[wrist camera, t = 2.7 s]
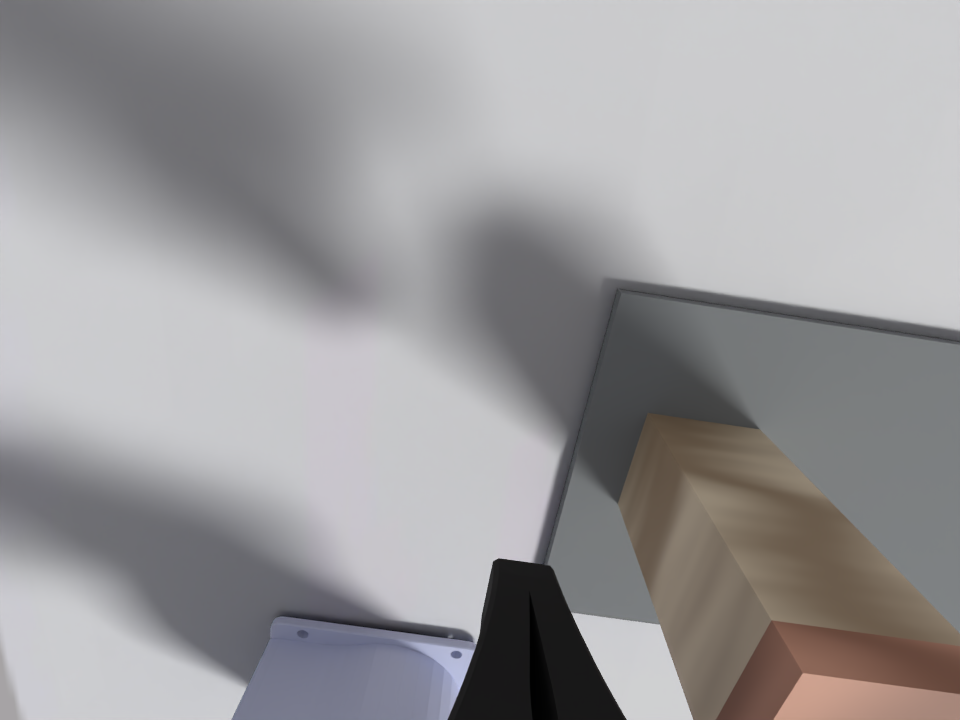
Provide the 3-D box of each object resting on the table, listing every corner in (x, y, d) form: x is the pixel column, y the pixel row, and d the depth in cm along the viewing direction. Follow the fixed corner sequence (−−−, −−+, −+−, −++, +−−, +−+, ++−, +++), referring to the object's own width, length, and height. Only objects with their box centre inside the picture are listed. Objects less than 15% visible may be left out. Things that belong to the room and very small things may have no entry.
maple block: (617, 503, 18) (721, 800, 10) (647, 412, 16) (803, 673, 8) (720, 518, 18) (911, 824, 10) (759, 429, 16) (1027, 703, 8)
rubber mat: (534, 597, 21) (535, 607, 20) (617, 289, 15) (621, 292, 15) (930, 651, 21) (940, 662, 21) (1150, 370, 16) (1169, 377, 15)
